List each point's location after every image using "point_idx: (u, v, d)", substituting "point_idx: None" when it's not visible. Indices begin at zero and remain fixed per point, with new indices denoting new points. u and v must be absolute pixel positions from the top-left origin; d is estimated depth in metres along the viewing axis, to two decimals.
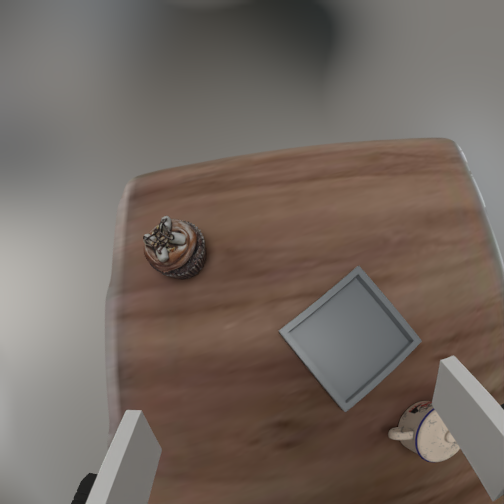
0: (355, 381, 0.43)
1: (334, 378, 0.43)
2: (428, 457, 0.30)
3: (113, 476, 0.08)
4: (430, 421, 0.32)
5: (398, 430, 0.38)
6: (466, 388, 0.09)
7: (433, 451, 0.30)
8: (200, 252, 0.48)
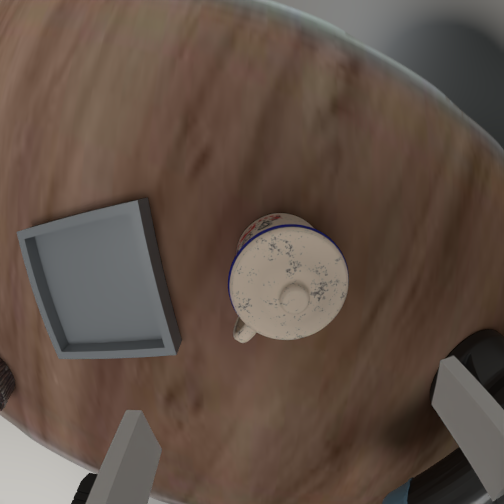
0: (149, 312, 0.32)
1: (133, 331, 0.32)
2: (307, 333, 0.23)
3: (113, 476, 0.08)
4: (242, 303, 0.23)
5: None
6: (466, 388, 0.09)
7: (301, 326, 0.23)
8: None
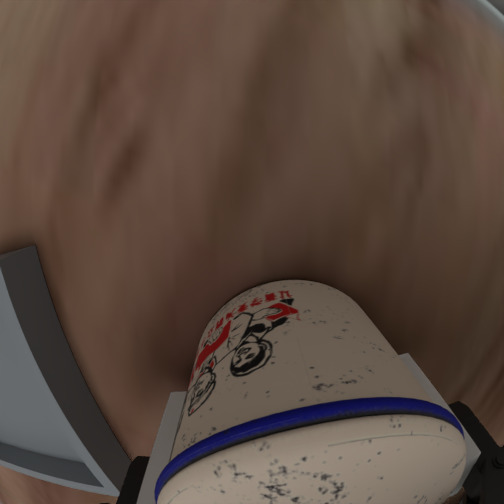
0: None
1: (60, 449, 0.15)
2: None
3: (167, 455, 0.09)
4: None
5: None
6: None
7: None
8: None
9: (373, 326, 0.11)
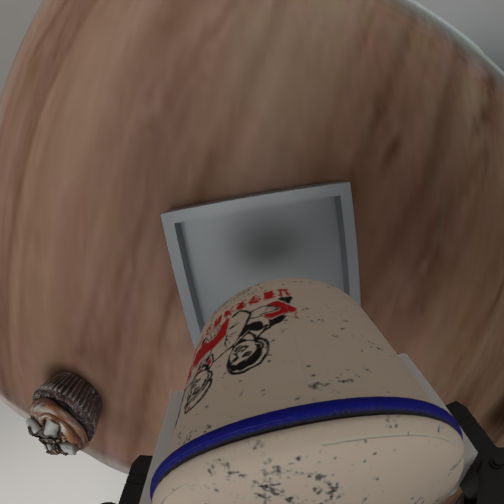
0: None
1: None
2: None
3: None
4: None
5: None
6: None
7: None
8: (72, 402, 0.29)
9: (372, 325, 0.11)
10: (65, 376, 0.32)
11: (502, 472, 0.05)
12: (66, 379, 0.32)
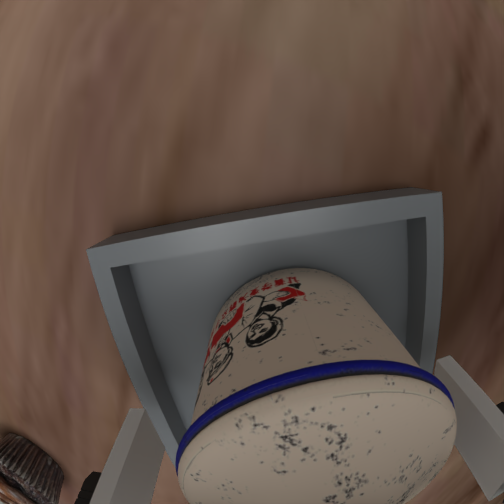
0: None
1: None
2: None
3: (117, 474, 0.08)
4: None
5: None
6: (462, 388, 0.09)
7: None
8: (21, 480, 0.16)
9: (372, 309, 0.12)
10: (14, 442, 0.19)
11: None
12: (15, 446, 0.19)
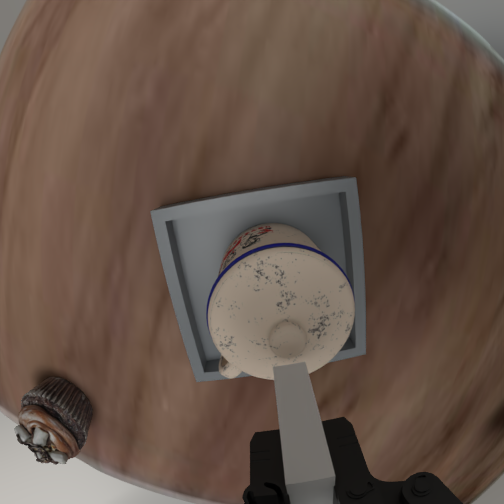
0: None
1: None
2: None
3: (297, 422, 0.10)
4: (224, 341, 0.18)
5: None
6: (296, 394, 0.11)
7: None
8: (61, 409, 0.26)
9: (312, 242, 0.23)
10: (54, 381, 0.30)
11: (366, 501, 0.06)
12: (55, 385, 0.29)
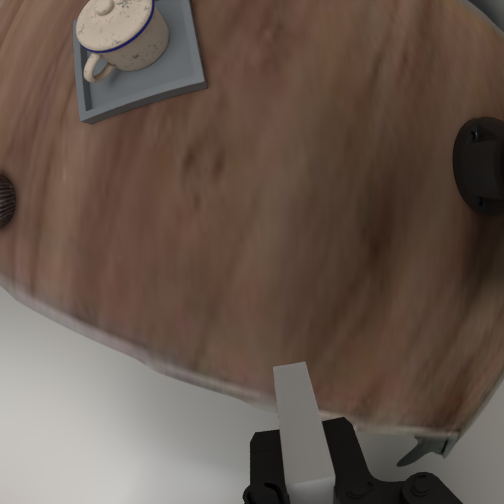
0: (181, 60, 0.32)
1: (163, 80, 0.33)
2: (121, 38, 0.23)
3: (297, 422, 0.10)
4: (81, 31, 0.22)
5: (110, 69, 0.30)
6: (296, 394, 0.11)
7: (114, 31, 0.22)
8: None
9: None
10: None
11: (366, 501, 0.06)
12: None
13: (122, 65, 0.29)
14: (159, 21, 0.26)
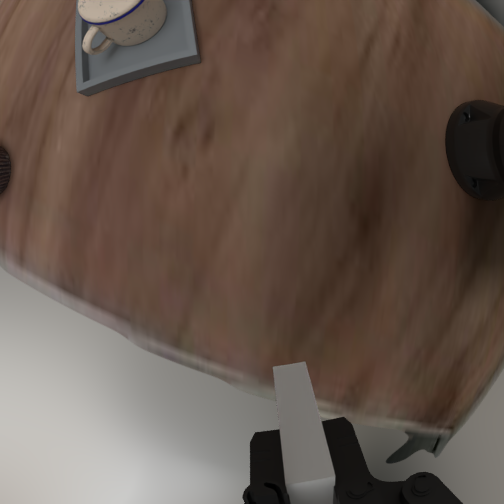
0: (177, 36, 0.31)
1: (158, 54, 0.32)
2: (118, 11, 0.22)
3: (297, 422, 0.10)
4: (82, 5, 0.22)
5: (108, 43, 0.29)
6: (296, 394, 0.11)
7: (113, 4, 0.22)
8: None
9: None
10: None
11: (365, 501, 0.06)
12: None
13: (120, 39, 0.29)
14: None
